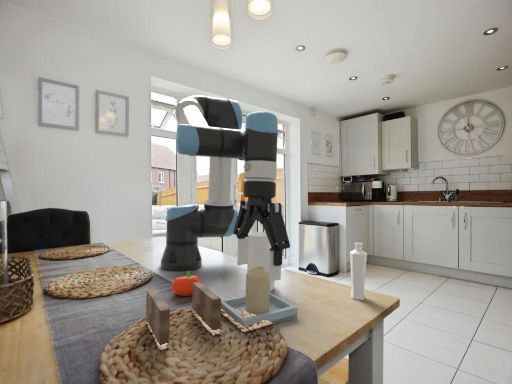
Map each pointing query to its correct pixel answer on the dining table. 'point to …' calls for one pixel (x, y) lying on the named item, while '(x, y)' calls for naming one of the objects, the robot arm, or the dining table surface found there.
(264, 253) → the white tall cylinder
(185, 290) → the orange pumpkin
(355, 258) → the perfume bottle
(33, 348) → the dining table surface
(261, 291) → the candle
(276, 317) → the tray
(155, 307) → the cradle
